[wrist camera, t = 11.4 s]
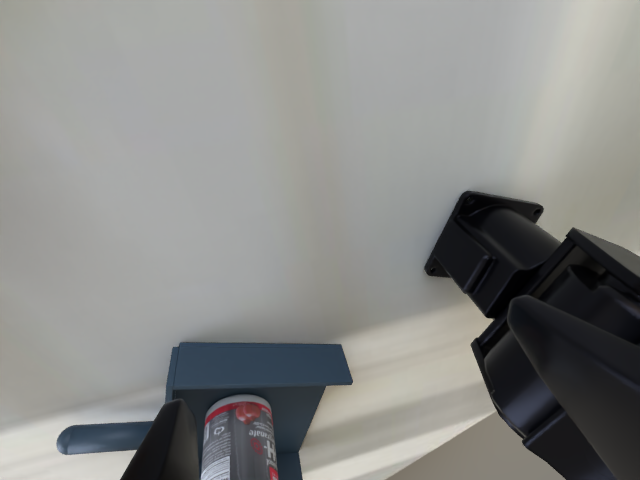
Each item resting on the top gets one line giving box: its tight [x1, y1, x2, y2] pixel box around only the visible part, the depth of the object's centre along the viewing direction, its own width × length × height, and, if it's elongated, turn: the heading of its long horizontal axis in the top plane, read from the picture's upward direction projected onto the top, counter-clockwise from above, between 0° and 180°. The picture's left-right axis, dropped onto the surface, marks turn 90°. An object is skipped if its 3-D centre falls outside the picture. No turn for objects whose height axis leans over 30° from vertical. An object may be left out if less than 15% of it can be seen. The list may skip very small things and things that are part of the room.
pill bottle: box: [201, 394, 278, 480], centre depth 25 cm, size 5×5×10 cm
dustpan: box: [57, 343, 353, 480], centre depth 27 cm, size 19×16×3 cm
